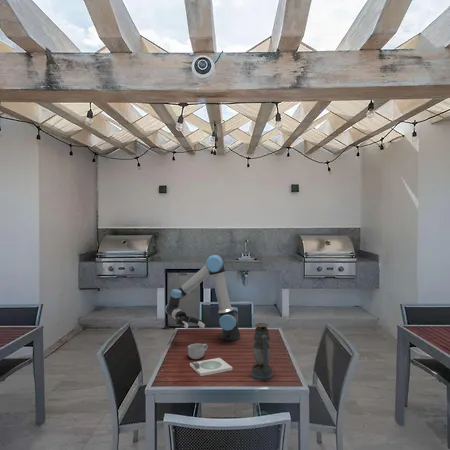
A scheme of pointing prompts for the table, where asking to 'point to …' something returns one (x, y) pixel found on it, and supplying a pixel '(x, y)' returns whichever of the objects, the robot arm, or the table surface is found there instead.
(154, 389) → the table surface
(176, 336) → the table surface
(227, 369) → the record player
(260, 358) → the lantern
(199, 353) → the teacup
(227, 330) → the robot arm
